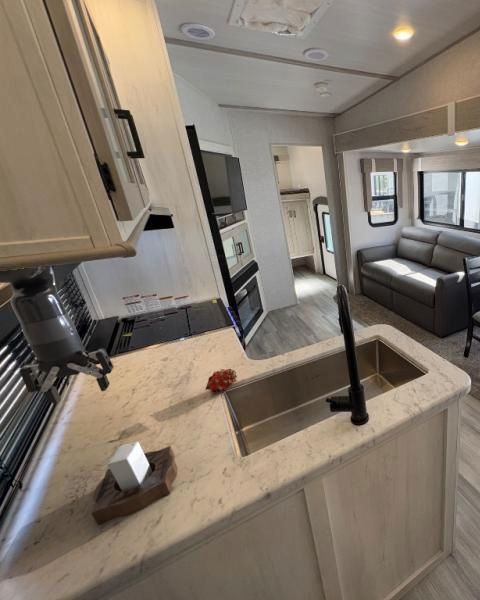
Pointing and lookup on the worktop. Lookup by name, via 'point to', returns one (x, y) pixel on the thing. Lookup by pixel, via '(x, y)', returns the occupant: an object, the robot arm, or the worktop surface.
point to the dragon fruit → (221, 380)
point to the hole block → (135, 488)
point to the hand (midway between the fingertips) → (81, 395)
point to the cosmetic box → (130, 466)
